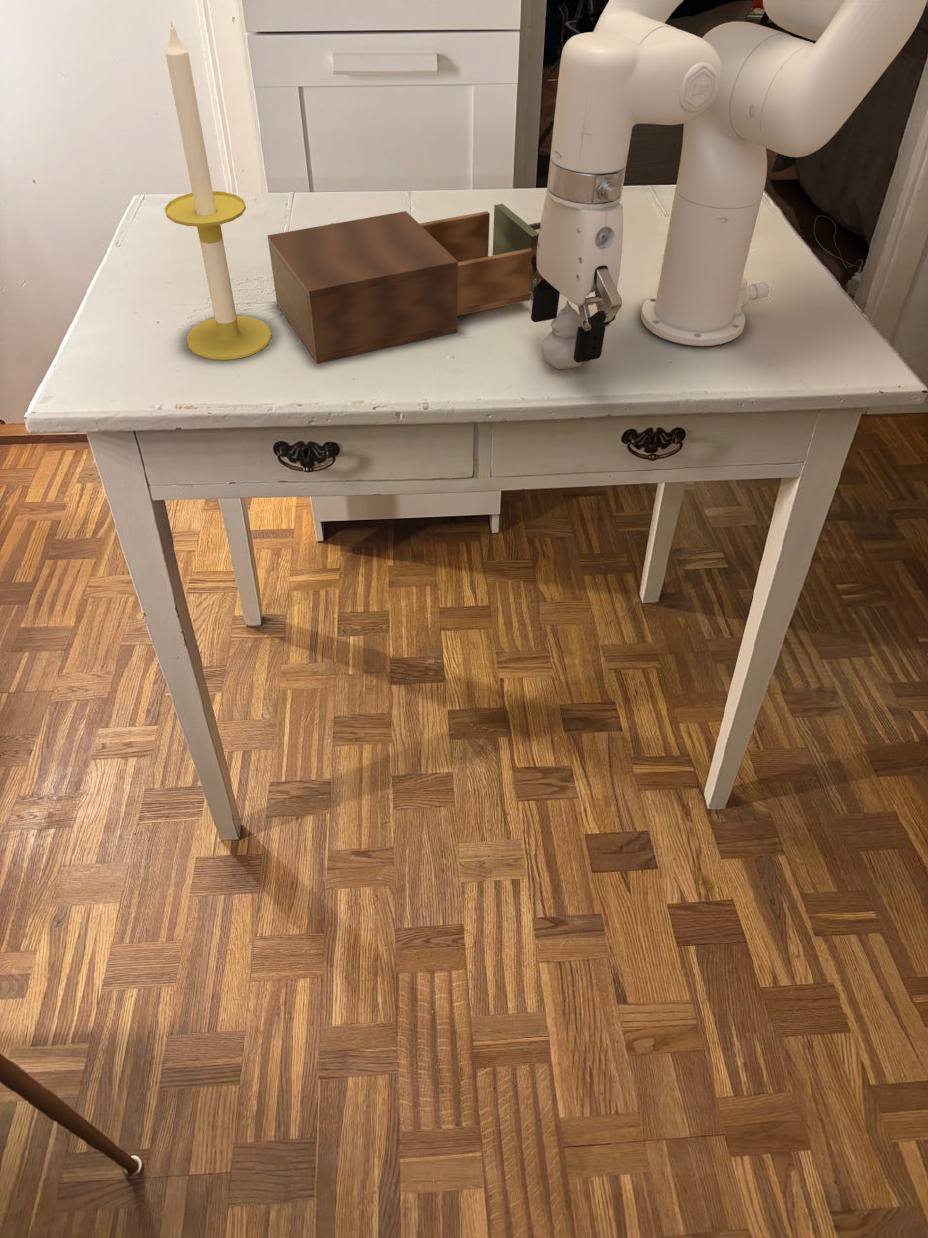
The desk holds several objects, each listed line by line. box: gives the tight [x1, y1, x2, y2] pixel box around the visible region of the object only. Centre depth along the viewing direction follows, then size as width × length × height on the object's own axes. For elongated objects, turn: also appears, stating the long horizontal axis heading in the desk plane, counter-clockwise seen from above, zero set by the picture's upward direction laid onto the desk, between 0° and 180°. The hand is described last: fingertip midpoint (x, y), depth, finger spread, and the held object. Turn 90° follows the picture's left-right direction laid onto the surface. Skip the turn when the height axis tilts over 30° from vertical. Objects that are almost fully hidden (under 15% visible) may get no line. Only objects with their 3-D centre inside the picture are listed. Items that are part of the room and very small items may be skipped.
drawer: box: [419, 203, 541, 317], centre depth 116 cm, size 22×14×7 cm, turn 115°
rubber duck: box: [540, 299, 584, 370], centre depth 104 cm, size 5×7×8 cm
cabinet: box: [267, 210, 458, 364], centre depth 110 cm, size 18×15×9 cm
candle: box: [164, 20, 273, 361], centre depth 98 cm, size 10×10×32 cm
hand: (564, 338), depth 104 cm, fingers open, 9 cm apart
